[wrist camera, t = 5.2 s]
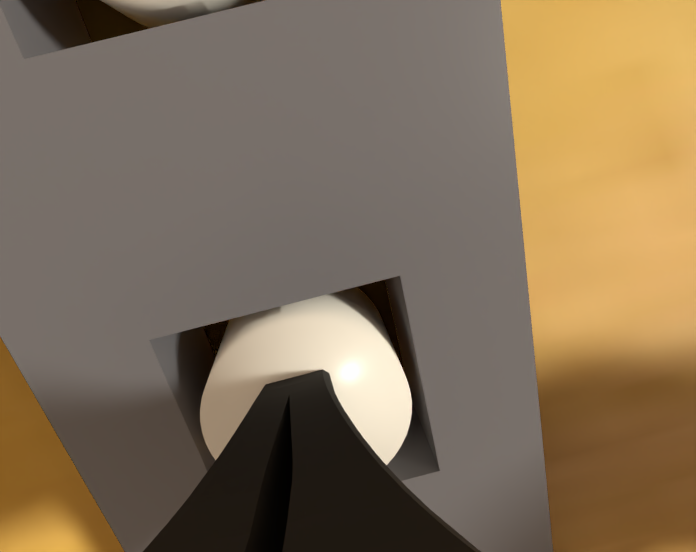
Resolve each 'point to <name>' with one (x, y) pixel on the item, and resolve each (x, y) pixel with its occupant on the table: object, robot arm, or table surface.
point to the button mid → (311, 367)
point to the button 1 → (171, 9)
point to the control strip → (268, 235)
